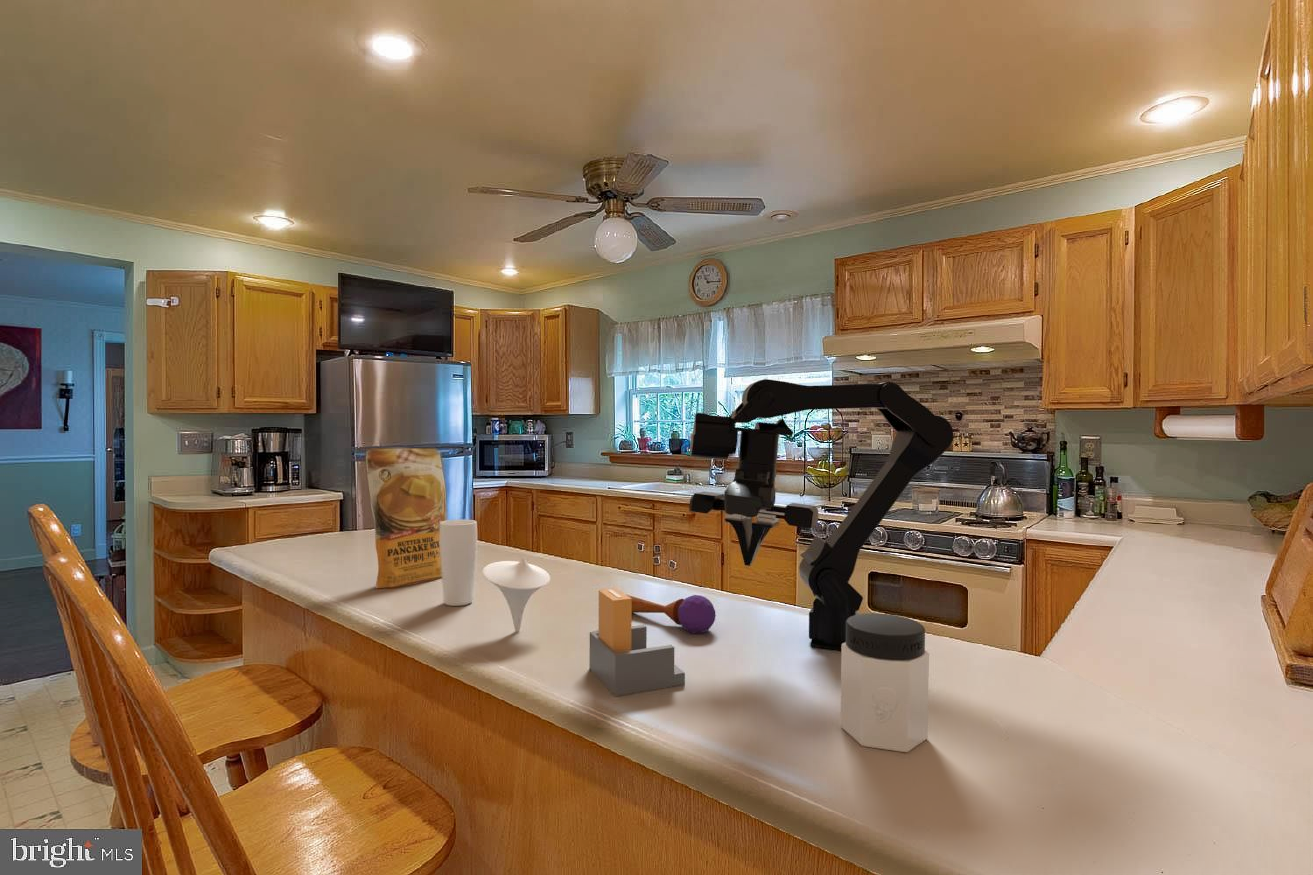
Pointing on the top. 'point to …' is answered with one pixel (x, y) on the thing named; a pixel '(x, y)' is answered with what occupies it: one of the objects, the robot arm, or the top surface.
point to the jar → (885, 682)
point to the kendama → (682, 612)
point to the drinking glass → (458, 560)
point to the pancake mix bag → (406, 513)
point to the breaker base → (634, 665)
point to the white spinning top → (516, 583)
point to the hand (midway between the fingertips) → (748, 565)
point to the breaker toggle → (615, 619)
